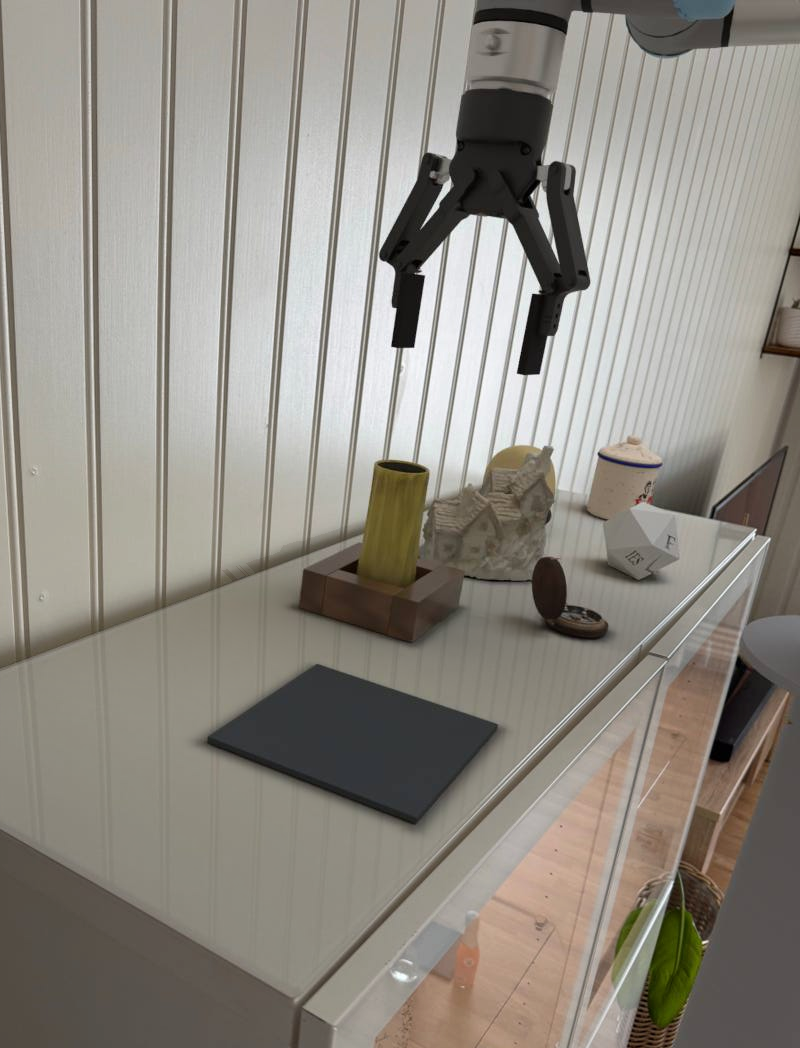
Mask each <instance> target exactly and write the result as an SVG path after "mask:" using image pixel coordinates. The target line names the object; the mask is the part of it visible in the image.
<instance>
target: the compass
mask: <svg viewBox="0 0 800 1048" xmlns="http://www.w3.org/2000/svg"><path fill="white" fill-rule="evenodd" d="M559 560H562V557H554V556H547V557H543V558H540V559H539V560H538V561H537V563H536V565H535V568H534V571H533V575H532V580H531V593H532V599H533V603H534V606H535V608H536V610H537V612H538V614H539V615H540V616H541V617H542V618H543V619H545V621H546V623H547V624H548V625H549V626H550V627H551V628H553V629H554V630H555V631H558V632H561V633H563V634H566V635H569V636H573V637H578V638H588V639H589V638H590V639H591V638H592V639H593V638H599V637H602V636H604V635H606V634H607V633H608V631H609V623H608V622H607V620H606V619H605V618H604V616H602V615H601V614H600V613H599V612H597V611H595V610H593V609H590V608H587V607H584V606H580V605H573V604H568V603H567V598H568V585H567V580H566V575H565V571H564V568H563V567H562V564H561V563H560V561H559Z"/></svg>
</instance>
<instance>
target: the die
mask: <svg viewBox="0 0 800 1048" xmlns="http://www.w3.org/2000/svg"><path fill="white" fill-rule="evenodd" d="M602 527H603V535H604V540H605V541H604V542H605V549H606V557H607V564H608V566H609V567H611V568H614V569H615V570H618V571H619V572H621V573H623V574H625V575H627V576H629V577H631V578H633V579H635V580H637V581H640V580H642V579H644V578H646V577H647V576H649V575H652V574H654V573H655V572H657V571H659V570H662V569H663V568H665V567H667V566H669V565H671V564H673V563H675V562H677V561H679V560H680V559H681V557H680V549H679V538H678V530H677V523H676V515H675V513H672V512H669V511H667V510H665V509H662V508H660V507H657V506H654V505H652V504H651V503H650V504H647V503H645V502H642V503H640V504H638V505H636V506H634V507H632V508H630V509H628V510H626V511H624V512H622V513H620V514H619V515H617V516H615V517H613V518H611V519H609V520H607V519H606V520H605V521H603V522H602Z"/></svg>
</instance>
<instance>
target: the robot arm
mask: <svg viewBox="0 0 800 1048" xmlns="http://www.w3.org/2000/svg"><path fill="white" fill-rule="evenodd" d="M474 12H475V14H474V16H473V17H474V18H473V24H472V28H471V35H470V40H469V41H470V42H469V48H468V54H467V60H466V67H465V72H464V73H465V74H464V81H465V82H466V84H467V85H468V86H470V89H467V90H465V91H464V93H463V94H461V97H460V104H459V110H458V115H457V116H458V117H457V122H456V130H455V139H456V150H455V152H454V153H455V154H454V155H453V157H452V159H450V158H448V157H447V156H445V155H441V154H437V153H433V152H426V153H424V154H423V156H422V158H421V161H420V166H419V170H418V175H417V179H416V181H415V183H414V185H413V187H412V189H411V191H410V193H409V194H408V196H407V197H406V200H405V202H404V204H403V205H402V208H401V209H400V212H399V214H398V215H397V218H396V219H395V221H394V223H393V225H392V227H391V229H390V231H389V233H388V234H387V236H386V239H385V240H384V242H383V244H382V245H381V248H380V250H379V252H378V257H379V260H380V261H381V262H383V263H386V264H388V265H390V266H391V267H392V268H393V269H394V280H393V286H392V295H391V301H390V302H391V303H390V304H391V308H393V309H395V316H394V321H393V322H394V323H393V329H392V337H391V344H390V347H391V348H394V349H414V348H415V347H416V339H417V332H418V326H419V319H420V313H421V306H422V299H423V294H424V285H425V279H426V275H425V274H420V273H422V272H423V270H422V269H421V267H423V265H424V264H425V263H426V262H427V261H428V260H429V259H430V257H431V256H432V255H433V254H434V253H435V252H436V250H437V249H438V248H439V247H440V246H441V245H442V244H443V242H445V240H446V239H447V238H448V237H449V236H450V234H451V233H452V232H453V231H454V230H455V229H456V228H457V226H458V225H459V224H460V223H461V222H462V221H463V220H465V219H467V218H468V217H470V216H475V217H476V216H478V217H484V218H487V217H491V218H497V219H502V220H503V219H504V220H507V222H508V223H509V224H511V226H512V228H513V229H514V232H515V234H516V236H517V239H518V240H519V243H520V246H521V247H522V249H523V252H524V254H525V256H526V258H527V260H528V262H529V264H530V267H531V269H532V271H533V274H534V275H535V277H536V280H537V283H538V285H539V286H540V289H539V290H538V293H531V297H530V302H529V303H530V304H529V307H528V312H527V317H526V323H525V328H524V333H523V339H522V344H521V348H520V354H519V359H518V364H517V368H516V369H517V370H516V375H521V376H533V375H534V376H535V375H536V376H538V375H539V376H540V375H541V371H542V365H543V360H544V356H545V350H546V346H547V341H548V337H555V335H556V334H557V332H558V330H559V327H560V326H559V325H560V321H561V316H562V312H563V306H564V302H565V300H566V297H567V296H568V295H569V294H573V293H576V292H579V291H586V290H588V289H589V288H590V286H591V277H590V272H589V267H588V261H587V257H586V251H585V246H584V241H583V236H582V231H581V226H580V221H579V216H578V211H577V206H576V201H575V196H574V195H575V193H574V192H575V185H576V175H577V169H576V167H575V166H574V165H573V164H570V163H566V162H562V161H559V160H554V161H552V162H551V163H550V164H545V165H544V164H543V162H542V156H543V152H544V150H545V147H547V143H548V138H549V137H548V136H549V131H550V126H551V120H552V116H553V109H554V105H553V104H552V101H551V99H549V98H548V97H549V95H553V94H554V93H555V92H556V91H557V90H558V84H559V80H560V79H559V78H560V73H561V68H562V61H563V57H564V50H565V45H566V39H567V35H568V29H569V22H570V19H571V17H572V16H571V15H572V12H582V13H586V14H587V13H589V14H592V13H598V14H609V15H611V14H612V15H623V16H624V18H625V26H626V29H627V31H628V34H629V36H630V38H631V39H632V40H633V42H635V44H636V45H637V46H638V47H639V49H641V50H642V51H643V52H645V53H646V54H648V55H649V56H651V57H654V58H657V59H674V58H678V57H681V56H684V55H686V54H687V53H689V52H691V51H693V50H701V49H705V50H706V49H720V48H729V47H730V48H731V47H732V48H733V47H756V46H784V45H785V46H786V45H800V0H476V5H475V11H474ZM449 181H451V183H452V187H451V188H450V189H449V191H448V192H447V193H446V194H445V195H444V196H443V198H442V199H441V200H440V202H439V203H438V208H437V209H436V211H435V212H434V213H433V214H432V215H431V216H430V218H429V219H428V220H427V218H428V216H429V214H430V213H431V211H432V209H433V207H434V206H435V204H436V202H437V200H438V199H439V196H440V194H441V192H442V191H443V188H444V184H446V183H447V182H449ZM540 184H541V187H542V191H543V192H544V193H545V195H546V196H545V198H546V204H547V210H548V216H549V219H550V220H549V221H550V224H551V229H552V234H553V239H554V245H555V250H556V254H557V256H556V254H555V252H554V249H553V247H552V245H551V243H550V241H549V239H548V236H547V234H546V232H545V230H544V227H543V226H542V223H541V221H540V213H539V211H538V209H537V207H536V204H535V202H534V200H533V198H532V194H533V193H534V192H535V190H536V189H537V188H538V187H539V185H540ZM426 220H427V221H426Z"/></svg>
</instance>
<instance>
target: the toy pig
mask: <svg viewBox="0 0 800 1048" xmlns="http://www.w3.org/2000/svg"><path fill="white" fill-rule="evenodd" d="M529 452H534V453H538V454H541V453H542V449H541V448H539V447H536V446H532V445H529V444H528V445H526V444H518V445H512V446H508V447H505V448H504V449H503V448H502V449H501V450H500V451H498V452H497V453H495V455H494V456H493V457H492V458H491V459H490V460H489V462H488V464H487V466H486V468H485V471H484V474H483V479H482V484H483V483H484V482H485V479H486V477H487V475H488V472H489V471H490V470H491V468H492V467H493V468H502V469H512V470H514V469H520V468H522V465H523V463H524V460H525V457H526V454H528V453H529ZM555 471H556V470H555V466H554V463H553V460H552V459H551V467H550V471H549V473H548V475H547V476H546V481H547V484H548V487H549V488H550V489H551V492H553V494H554V497H555V496H556V472H555ZM552 507H553V504H552V505H551V506H550V508H549V512H548V515H547V519H546V522H545V525H544V526H545V527H546V526H547V525H548V524H549V523H550V522H551V520H552V515H553V514H552V511H551V508H552Z"/></svg>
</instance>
